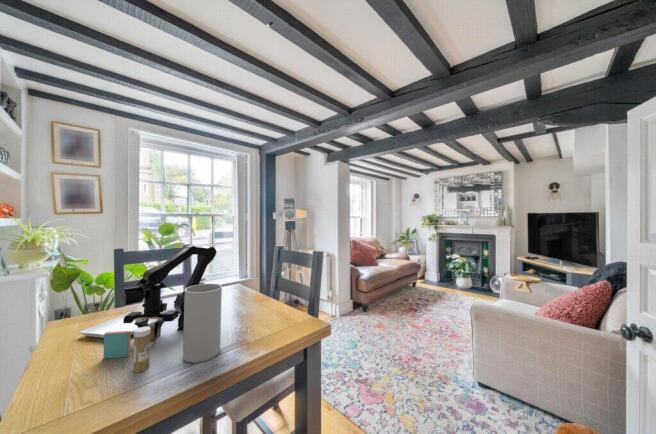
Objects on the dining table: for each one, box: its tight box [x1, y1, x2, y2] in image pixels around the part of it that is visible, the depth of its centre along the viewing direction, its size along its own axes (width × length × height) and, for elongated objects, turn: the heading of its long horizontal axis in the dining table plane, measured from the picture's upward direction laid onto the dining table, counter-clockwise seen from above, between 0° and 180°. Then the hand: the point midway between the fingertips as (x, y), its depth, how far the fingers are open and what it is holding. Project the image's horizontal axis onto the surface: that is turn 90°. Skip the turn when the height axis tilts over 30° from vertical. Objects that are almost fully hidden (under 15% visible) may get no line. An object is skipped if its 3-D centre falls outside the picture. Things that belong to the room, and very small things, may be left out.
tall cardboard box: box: [130, 324, 162, 352], centre depth 101 cm, size 6×13×5 cm, turn 9°
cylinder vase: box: [182, 283, 223, 364], centre depth 93 cm, size 12×12×25 cm
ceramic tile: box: [103, 331, 132, 360], centre depth 90 cm, size 8×2×9 cm, turn 99°
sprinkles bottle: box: [132, 327, 151, 373], centre depth 83 cm, size 5×5×13 cm
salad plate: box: [79, 313, 158, 339], centre depth 112 cm, size 21×21×3 cm
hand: (151, 337), depth 104 cm, fingers closed on tall cardboard box, 3 cm apart
